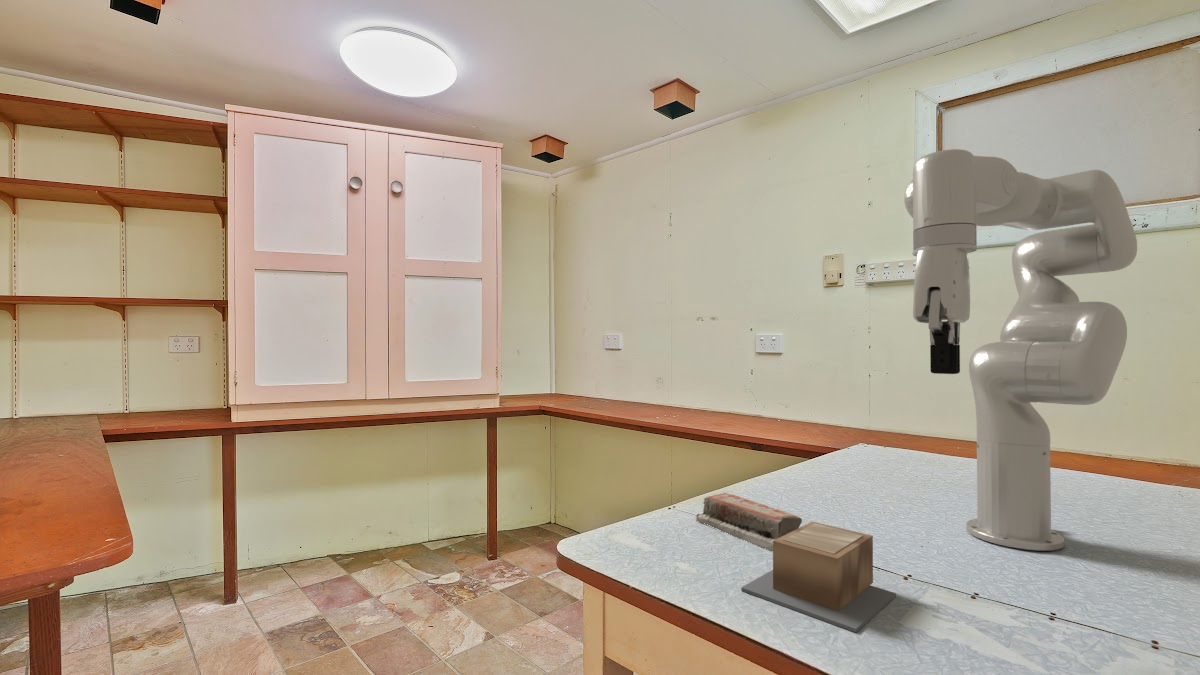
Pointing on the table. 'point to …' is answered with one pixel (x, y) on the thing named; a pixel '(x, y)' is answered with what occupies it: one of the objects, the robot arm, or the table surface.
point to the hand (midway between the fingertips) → (945, 373)
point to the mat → (846, 617)
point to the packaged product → (747, 519)
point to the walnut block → (823, 564)
